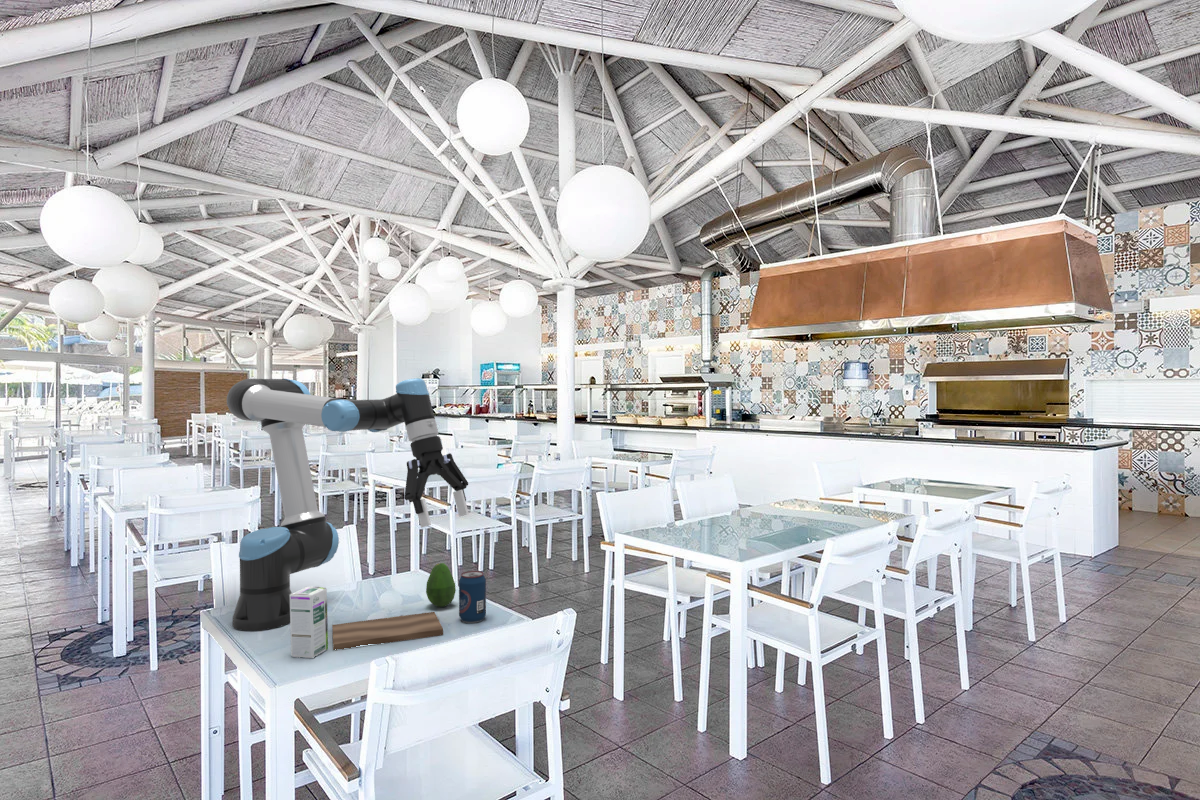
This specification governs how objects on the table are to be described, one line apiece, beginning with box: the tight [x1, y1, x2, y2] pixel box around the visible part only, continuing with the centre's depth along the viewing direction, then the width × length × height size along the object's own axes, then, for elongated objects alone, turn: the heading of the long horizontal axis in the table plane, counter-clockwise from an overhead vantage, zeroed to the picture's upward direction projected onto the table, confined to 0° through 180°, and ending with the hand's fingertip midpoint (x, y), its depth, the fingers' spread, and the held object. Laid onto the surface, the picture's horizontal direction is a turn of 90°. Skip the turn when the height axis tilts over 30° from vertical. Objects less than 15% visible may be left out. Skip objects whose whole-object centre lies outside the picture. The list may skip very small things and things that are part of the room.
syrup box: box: [289, 586, 329, 659], centre depth 151 cm, size 6×6×14 cm
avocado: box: [425, 562, 457, 608], centre depth 184 cm, size 8×8×12 cm
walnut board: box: [331, 611, 444, 651], centre depth 164 cm, size 14×25×2 cm, turn 113°
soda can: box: [458, 570, 487, 624], centre depth 174 cm, size 7×7×12 cm
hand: (445, 520), depth 166 cm, fingers open, 13 cm apart
